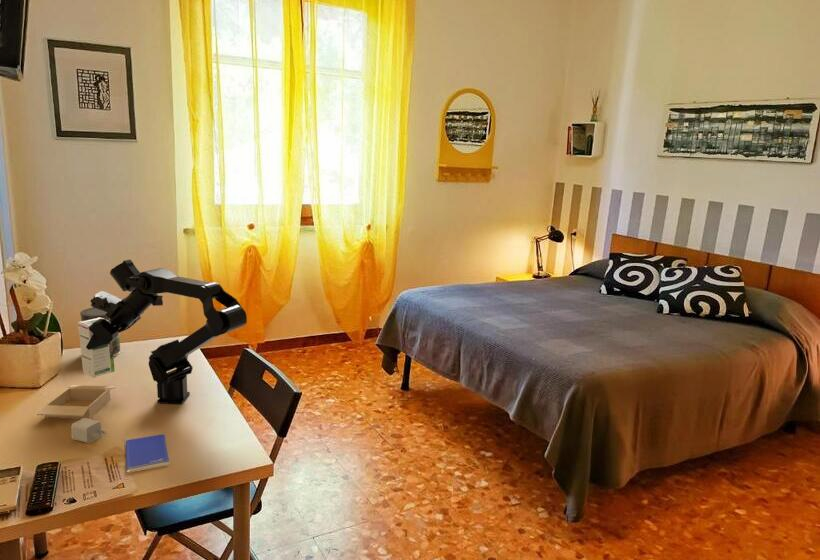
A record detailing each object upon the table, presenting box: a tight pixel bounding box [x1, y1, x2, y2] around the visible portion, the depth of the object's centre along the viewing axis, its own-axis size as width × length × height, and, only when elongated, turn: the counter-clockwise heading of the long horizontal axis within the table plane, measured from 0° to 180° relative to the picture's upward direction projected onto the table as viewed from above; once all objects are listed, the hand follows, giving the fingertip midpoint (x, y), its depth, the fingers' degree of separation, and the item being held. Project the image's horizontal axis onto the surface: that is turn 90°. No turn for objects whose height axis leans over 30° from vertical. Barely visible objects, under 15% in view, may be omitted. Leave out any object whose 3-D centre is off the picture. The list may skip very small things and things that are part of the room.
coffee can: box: [80, 307, 122, 358], centre depth 176 cm, size 10×10×14 cm
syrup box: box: [77, 317, 116, 379], centre depth 150 cm, size 6×6×14 cm
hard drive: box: [125, 434, 170, 473], centre depth 124 cm, size 2×8×12 cm
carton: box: [36, 384, 116, 420], centre depth 142 cm, size 11×16×3 cm, turn 2°
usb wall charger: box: [71, 418, 108, 444], centre depth 128 cm, size 4×7×4 cm, turn 71°
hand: (94, 343), depth 150 cm, fingers closed on syrup box, 8 cm apart
